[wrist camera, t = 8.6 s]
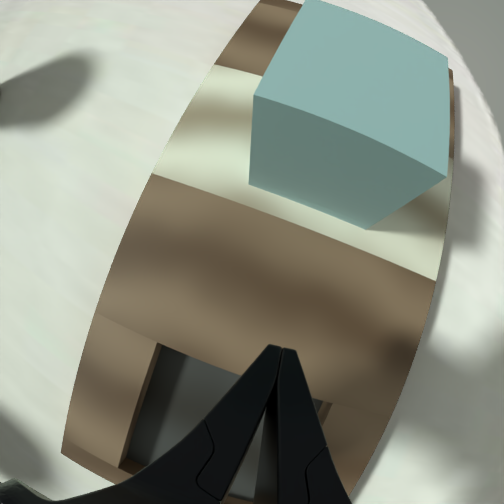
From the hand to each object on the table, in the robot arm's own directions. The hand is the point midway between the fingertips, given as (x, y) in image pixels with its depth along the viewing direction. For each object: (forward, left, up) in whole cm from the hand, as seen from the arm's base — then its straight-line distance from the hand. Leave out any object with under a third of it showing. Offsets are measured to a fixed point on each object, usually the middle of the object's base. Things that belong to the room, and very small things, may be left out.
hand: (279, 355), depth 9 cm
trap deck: (+6, -2, -9) cm, 11 cm away
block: (+10, -4, -7) cm, 13 cm away
